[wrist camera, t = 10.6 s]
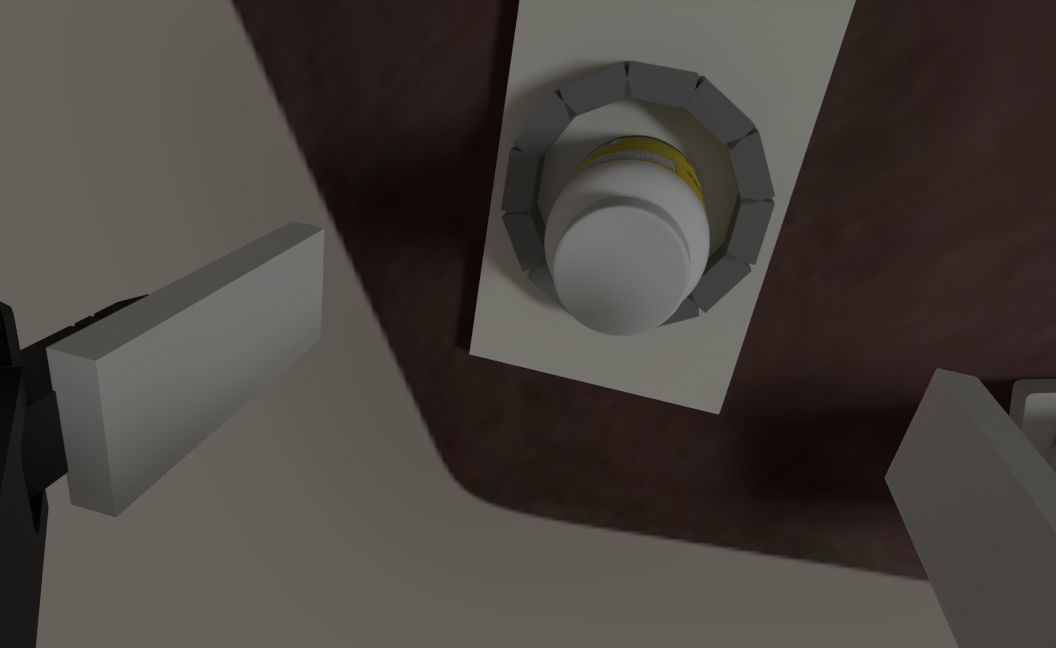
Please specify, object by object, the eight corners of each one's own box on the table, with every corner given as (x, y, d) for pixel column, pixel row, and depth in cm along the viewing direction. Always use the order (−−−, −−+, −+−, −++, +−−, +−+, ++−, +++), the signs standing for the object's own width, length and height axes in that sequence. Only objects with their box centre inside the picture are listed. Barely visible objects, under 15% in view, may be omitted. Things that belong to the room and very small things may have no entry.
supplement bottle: (689, 269, 29) (694, 374, 21) (564, 250, 30) (517, 344, 21) (715, 140, 27) (733, 195, 18) (579, 123, 28) (533, 168, 19)
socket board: (533, -69, 26) (521, -77, 24) (855, -15, 25) (872, -19, 23) (473, 347, 34) (459, 369, 32) (718, 405, 32) (721, 432, 30)
